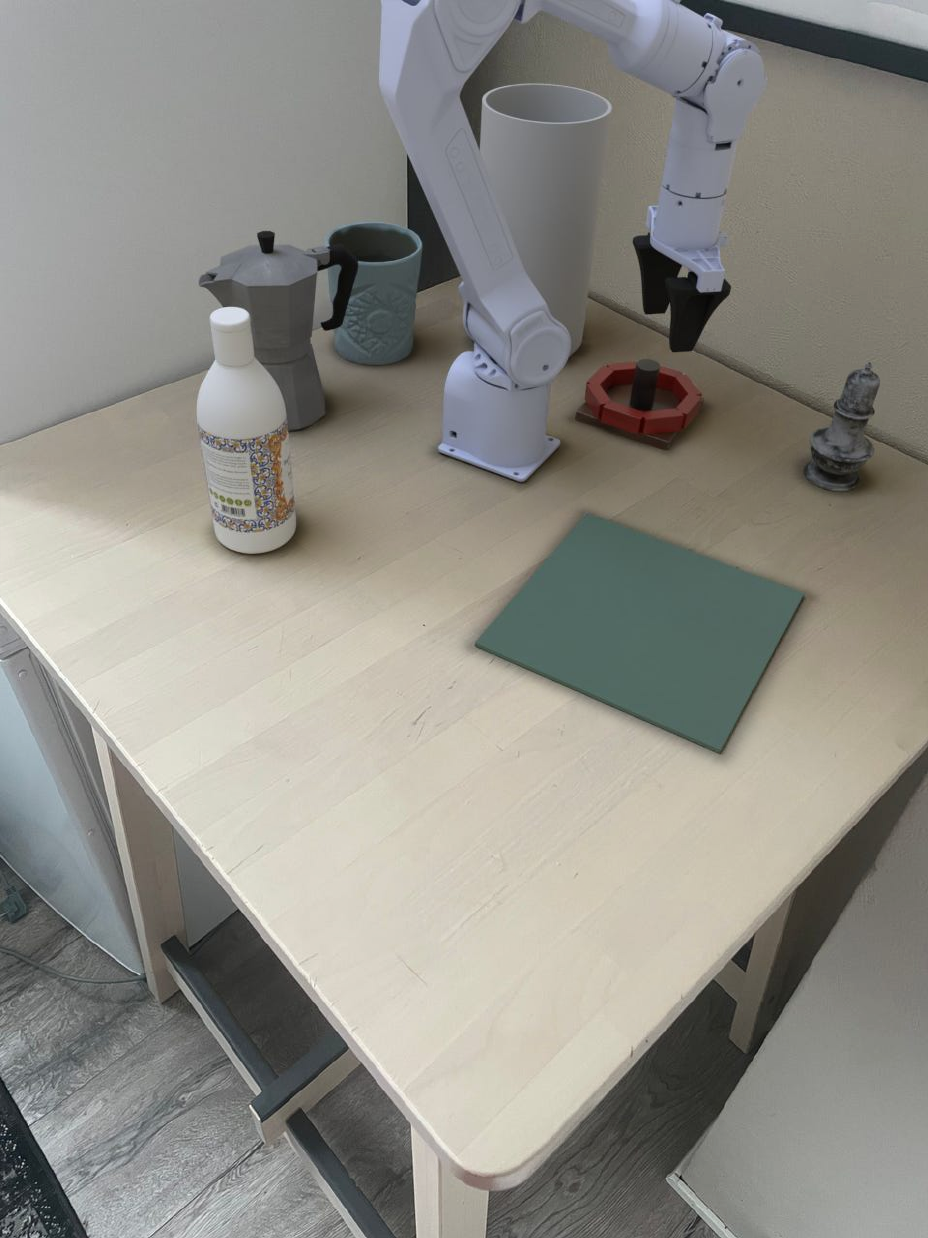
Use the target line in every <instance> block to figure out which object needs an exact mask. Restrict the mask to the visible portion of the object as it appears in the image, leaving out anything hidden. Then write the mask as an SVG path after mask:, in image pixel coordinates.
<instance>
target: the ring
mask: <svg viewBox="0 0 928 1238" xmlns="http://www.w3.org/2000/svg"><path fill="white" fill-rule="evenodd" d="M637 361H638V360H637ZM637 361H626V362H616V363H607V364H606V365H602V366H601V367H600V368H599V369H598V370H597V371H596V372H595V373H594V374H593V375H592V376H591V377H590V378H589V379H588V380H586V383H585V392H584V398H583V400H584V402H586V403H587V404H588V406H589V408H590V409H591V411H592V412H593V414H594V415H595V417H596V418H597V420H600V419H601V422H602V423H605V424H608V425H611V426H614V427H617V428H620V429H623V430H626V431H629V432H632V433H635V434H639V432H640V431H641V433H642V434H643V435H648V434H657V433H667V432H676V431H681V428H682V429H683V430H685V429H686V428H687V426H689V424H691V422H692V421H693V419H694V418H695V417H696V416H697V415H698V414H699V412H700V410H699V408H700V404H701V399H702V398H703V396H702V395H703V393H702V392H701V390H700V389H698V387H697V386H696V385H695V383H694V382H693V380H691V378H690V377H689V375H687V374H686V373H685V374H683V372H682V371H680V370H677V369H673V368H670V367H666V366H663V365H660V372H659V377H658V382H657V387H658V388H661V389H664V390H667V391H671V392H672V393H673V394H674V395H675V396H676V398H677V399H678V400H679V402H680V404H679V405H678V407H677V408H676V409H667V410H657V411H648V412H642V411H639V410H636V409H633V408H630V407H627V406H624V405H621V404H617V403H614V402H612V401H611V400H610V398H609V397H608V395H607V394H606V393H605V391H606V390H607V389H608V388H609V387H610V386H611V385H621V384H631V383H633V380H634V374H635V368H636V363H637Z"/></svg>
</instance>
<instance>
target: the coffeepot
mask: <svg viewBox="0 0 928 1238" xmlns="http://www.w3.org/2000/svg"><path fill="white" fill-rule="evenodd" d="M256 233H257V234H256V236H257V240H258V244H250V245H247V246H244V247H242V248H239V249H236V250H235V251H231V252H229V253H227V254H224V255H222V256H220V263H219V265H217V266H216V267H214V268H211V269H208V270H207V271H205V273H204V274H201V275H200V277H199V278H198V286H199V287H201V288H204V289H207V290H208V291H209V292H210V294H212V296H214V297H215V299H216V300H217V301H218V302H219V304H220V305H221V306H222V308H224V307H238V308H242V309H244V310H246V311H247V312H248V313H249V315H250V325H251V332H252V338H253V348H254V357H255V358H256V359H257V360H258V361H259V362H260V364H261V365H262V366H263V367H264V368H265V369H266V370H267V371H268V373H269V374H270V375H271V376H272V378H273V379H274V380H275V382H276V384H277V385H278V387H279V389H280V391H281V394H282V396H283V400H284V403H285V408H286V412H287V423H288V432H293V431H299V430H301V429H304V428H307V427H310V426H312V425H313V424H315V423H317V422H318V421H319V420H320V419H321V418H322V417H323V416H325V415H326V401H325V400H326V399H325V392H324V388H323V384H322V380H321V376H320V371H319V367H318V364H317V359H316V354H315V351H314V347H313V344H312V342H311V338H312V336H313V328H314V326H313V325H314V316H315V315H314V314H315V303H316V289H317V281H318V280H317V279H318V274H319V273H318V272H320V271H324V270H328V269H327V268H329V267H332V266H334V265H340V266H341V271H340V273H339V277H338V286H337V293H336V295H335V298H334V300H333V316H332V315H331V317H330V318H329V319H328V320H325V321H321V322H320V326H321V328H322V330H323V331H325V332H327V331H332V330H333V331H334V329H336V328H339V327H341V325H342V324H343V321H344V317H345V314H346V310H347V306H348V302H349V299H350V296H351V292H352V288H353V284H354V281H355V277H356V274H357V271H358V261H357V259H356V257H355V256H353V255H352V254H351V253H350V252H349V251H348V250H347V249H346V248H345V247H344V246H343V245H341V244H337V245H332V246H328V247H325V245H322V246H321V245H320V246H317V247H311V248H307V249H306V250H304V249H302V248H298V247H296V246H294V245H292V244H275V237H276V233H275V231H271V230H262V231H258V232H256Z"/></svg>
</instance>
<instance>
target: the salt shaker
mask: <svg viewBox="0 0 928 1238" xmlns="http://www.w3.org/2000/svg"><path fill="white" fill-rule="evenodd" d="M871 369H873V364H872V363H871V361H868V362H867V363H866V364H864V368H859V369H854V370H852V371H851V372H849V374H848V375H847V377H846V380H845V383H844V385H843V389H842V392H841V395H840V398H839V399H837V400H835V401H834V403H833V408H834V414H833V417H832V420H831V423H830V424H829V426H825V427H820V428H818V429H816V430H814V431H813V432H812V433H811V435H810V437H809V442H810V454H811V457H812V460H810V461H808V462H806V464H805V465H804V467H803V471H802V472H803V475H804V477H805V478H806V480H807V481H809V482H810V483H811V484H812V485H814V486H816V487H818V488H821V489H824V490H827V491H831V492H848V491H852V490H855V488H858V486H859V485H860V482H861V477H860V474H859V473H858V472H857V471H859V470H860V469H862V468H863V466H865V465H866V463H867V462H868V460H870V459H871V458H872V457H873V456H874V453H875V447H874V444H873V442H871V440H870V439H869V438H868V437H866V435H865V431H866V428H867V426H868V422H869V419H871V418H873V417H874V415H875V408H874V407H873V405H874V403H875V400H876V397H877V394H878V391H879V388H880V387H881V379H880V377H879V375H878V374H877V373H876V372H875V371H873V370H871Z"/></svg>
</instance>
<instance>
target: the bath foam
mask: <svg viewBox="0 0 928 1238" xmlns="http://www.w3.org/2000/svg"><path fill="white" fill-rule="evenodd" d="M209 326H210V332H211V340H212V346H213V353H214V358H215V359H214V361H213V363H212V365H211V366H210V367H209V369H208V372H207V373H206V375H205V376H204V379H203V381H202V383H201V385H200V388H199V391H198V394H197V400H196V421H197V423H196V424H197V425H196V426H197V429H198V430H197V432H198V437H199V443H200V449H201V456H202V463H203V467H204V468H203V469H204V474H205V475H204V476H205V481H206V488H207V492H208V500H209V507H210V512H211V517H212V522H213V523H212V524H213V529H214V534H215V537H216V538H217V540H218V541H219V542H220V543H221V544H222V545H223V546H224V547H225V548H227V549H229V550H232V551H233V552H237V553H242V554H250V555H251V554H252V555H253V554H255V555H256V554H265V553H268V552H272V551H275V550H277V549H279V548H281V547H283V546H284V545H286V544H287V543H288V541H290V540H291V539H292V537H293V536H294V534H295V532H296V528H297V515H296V503H295V492H294V480H293V469H292V459H291V458H292V457H291V446H290V436H289V431H288V423H287V412H286V408H285V403H284V400H283V396H282V394H281V391H280V389H279V387H278V385H277V384H276V382H275V380H274V379H273V378H272V376H271V375H270V374H269V373H268V371H267V370H266V369H265V368H264V367H263V366H262V365H261V364H260V362H259V361H258V360H257V359H256V358H255V357H254V348H253V338H252V332H251V325H250V315H249V313H248V312H247V311H246V310H244V309H242V308H238V307H220V308H217V309H215V310H214V311H212V312H211V314H210V315H209Z"/></svg>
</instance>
